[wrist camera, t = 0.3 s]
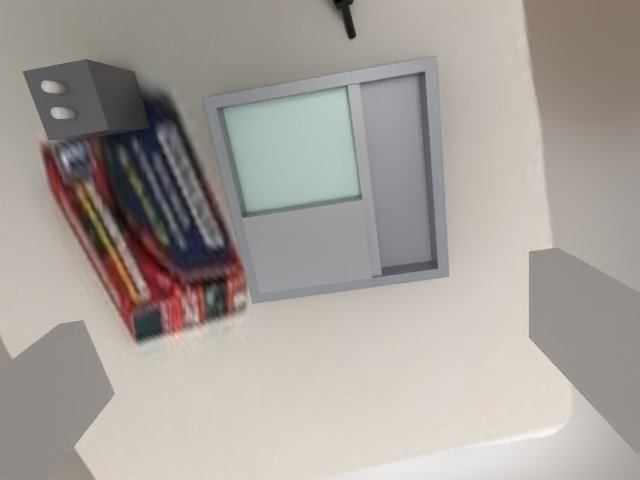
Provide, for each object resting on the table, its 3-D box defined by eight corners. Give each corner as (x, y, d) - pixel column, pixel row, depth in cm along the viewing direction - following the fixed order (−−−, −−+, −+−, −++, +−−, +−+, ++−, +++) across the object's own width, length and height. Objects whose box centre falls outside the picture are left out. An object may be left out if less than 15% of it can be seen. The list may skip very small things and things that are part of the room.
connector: (82, 81, 34) (4, 68, 25) (134, 71, 33) (71, 55, 25) (101, 136, 35) (33, 141, 27) (150, 128, 35) (96, 129, 27)
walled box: (212, 99, 34) (202, 97, 31) (427, 61, 32) (436, 55, 30) (257, 291, 40) (252, 303, 37) (440, 265, 39) (449, 276, 36)
